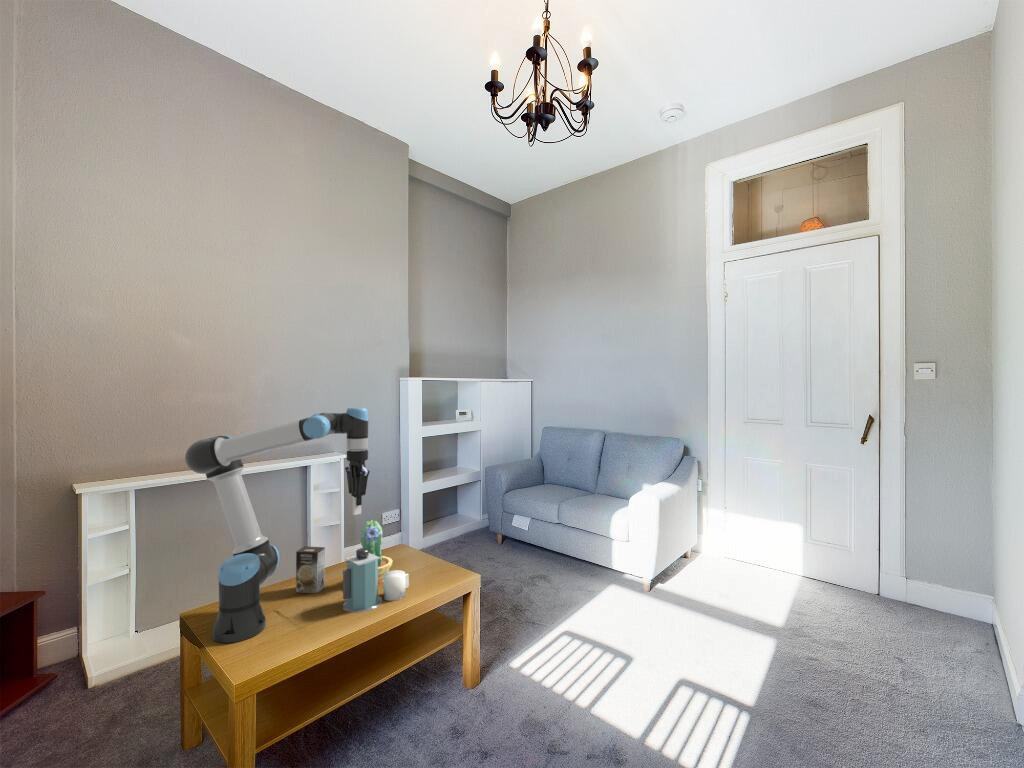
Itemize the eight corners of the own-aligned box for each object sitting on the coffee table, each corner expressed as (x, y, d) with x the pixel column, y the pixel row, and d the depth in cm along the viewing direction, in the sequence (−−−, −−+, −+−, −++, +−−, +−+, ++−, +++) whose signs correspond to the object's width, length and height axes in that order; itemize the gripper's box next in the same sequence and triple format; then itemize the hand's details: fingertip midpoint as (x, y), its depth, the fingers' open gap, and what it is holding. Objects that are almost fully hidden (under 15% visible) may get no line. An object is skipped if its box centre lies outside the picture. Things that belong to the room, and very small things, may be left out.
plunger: (359, 601, 165) (358, 555, 166) (347, 595, 170) (347, 550, 170) (377, 594, 171) (377, 549, 171) (366, 588, 176) (366, 545, 176)
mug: (391, 605, 171) (391, 580, 171) (379, 598, 176) (379, 574, 176) (414, 595, 179) (414, 572, 179) (401, 589, 184) (401, 566, 184)
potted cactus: (345, 587, 186) (344, 525, 186) (368, 572, 201) (367, 514, 201) (379, 592, 181) (378, 528, 182) (399, 576, 196) (399, 517, 196)
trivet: (355, 618, 161) (355, 616, 161) (335, 606, 170) (335, 604, 170) (390, 604, 171) (390, 601, 171) (369, 593, 181) (369, 591, 181)
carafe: (351, 614, 162) (351, 567, 162) (336, 606, 168) (336, 560, 169) (382, 602, 171) (382, 557, 171) (367, 594, 178) (367, 551, 178)
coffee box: (295, 592, 182) (294, 551, 182) (304, 585, 188) (303, 546, 188) (317, 593, 181) (317, 552, 181) (325, 586, 187) (325, 546, 187)
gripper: (376, 450, 170) (375, 515, 170) (357, 447, 178) (356, 508, 178) (357, 452, 164) (357, 519, 164) (338, 449, 173) (338, 512, 172)
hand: (356, 513), depth 171 cm, fingers closed
